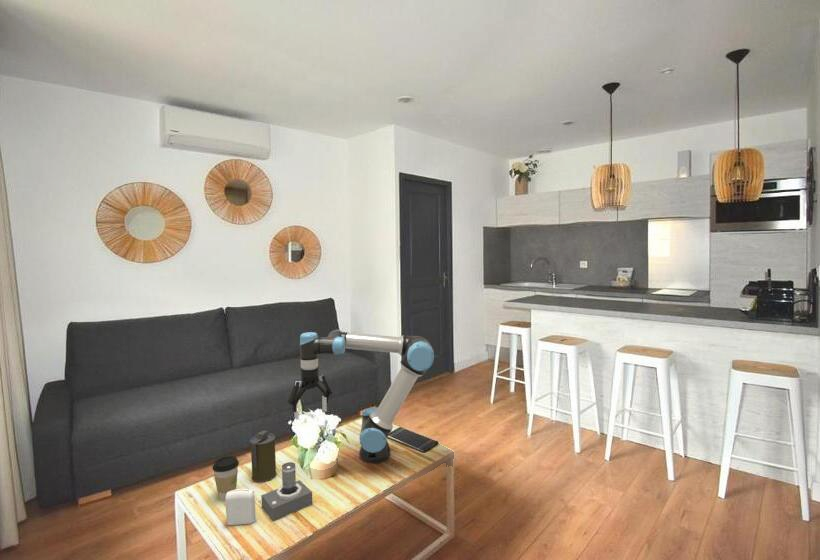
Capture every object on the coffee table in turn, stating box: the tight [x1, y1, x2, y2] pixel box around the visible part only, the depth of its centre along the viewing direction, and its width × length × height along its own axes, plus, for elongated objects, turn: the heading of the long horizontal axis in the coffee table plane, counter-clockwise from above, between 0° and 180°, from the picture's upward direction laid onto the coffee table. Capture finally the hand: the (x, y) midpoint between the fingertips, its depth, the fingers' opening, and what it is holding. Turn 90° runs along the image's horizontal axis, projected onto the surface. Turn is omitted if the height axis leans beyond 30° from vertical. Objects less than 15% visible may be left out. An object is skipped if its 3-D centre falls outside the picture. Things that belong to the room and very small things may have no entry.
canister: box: [249, 429, 277, 484], centre depth 185 cm, size 11×10×20 cm
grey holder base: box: [260, 480, 313, 522], centre depth 164 cm, size 16×11×6 cm
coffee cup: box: [212, 455, 240, 502], centre depth 170 cm, size 10×10×15 cm
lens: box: [281, 461, 297, 495], centre depth 164 cm, size 5×5×11 cm
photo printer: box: [224, 488, 257, 526], centre depth 155 cm, size 10×4×12 cm, turn 96°
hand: (310, 414), depth 187 cm, fingers open, 13 cm apart
